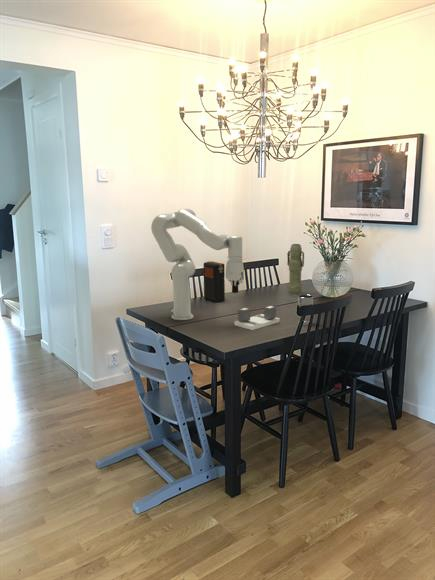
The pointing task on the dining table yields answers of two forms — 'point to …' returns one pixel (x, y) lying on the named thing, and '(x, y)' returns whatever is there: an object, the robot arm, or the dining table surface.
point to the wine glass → (305, 301)
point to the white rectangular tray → (256, 322)
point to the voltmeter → (214, 281)
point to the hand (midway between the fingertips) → (235, 292)
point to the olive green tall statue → (295, 269)
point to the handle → (269, 312)
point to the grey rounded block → (243, 314)
